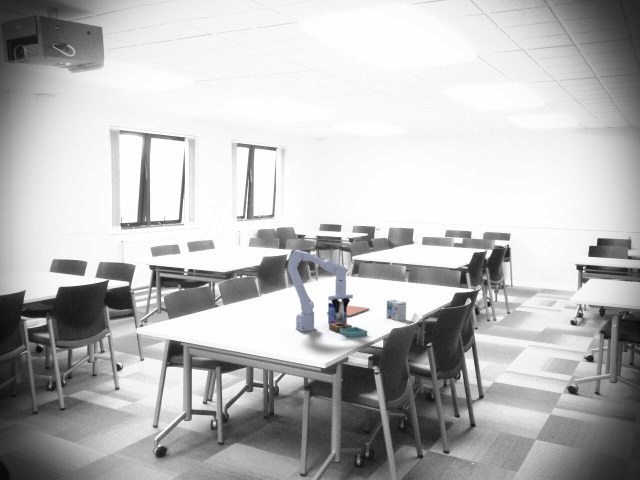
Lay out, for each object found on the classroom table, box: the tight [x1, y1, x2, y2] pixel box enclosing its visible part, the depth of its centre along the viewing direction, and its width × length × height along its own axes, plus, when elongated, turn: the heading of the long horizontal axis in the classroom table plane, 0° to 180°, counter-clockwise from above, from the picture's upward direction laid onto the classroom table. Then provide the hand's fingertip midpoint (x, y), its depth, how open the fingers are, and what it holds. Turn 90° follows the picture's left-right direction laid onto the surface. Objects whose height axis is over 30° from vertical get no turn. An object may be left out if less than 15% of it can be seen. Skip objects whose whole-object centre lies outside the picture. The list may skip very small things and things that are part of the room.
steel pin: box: [337, 300, 344, 321], centre depth 308 cm, size 4×4×10 cm
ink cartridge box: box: [327, 299, 348, 325], centre depth 322 cm, size 10×6×14 cm, turn 51°
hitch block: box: [328, 322, 353, 334], centre depth 308 cm, size 9×9×3 cm
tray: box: [339, 326, 368, 339], centre depth 299 cm, size 11×11×2 cm
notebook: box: [326, 304, 370, 318], centre depth 358 cm, size 27×17×2 cm, turn 148°
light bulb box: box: [386, 299, 407, 322], centre depth 338 cm, size 11×7×11 cm, turn 33°
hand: (340, 312), depth 308 cm, fingers closed on steel pin, 4 cm apart
